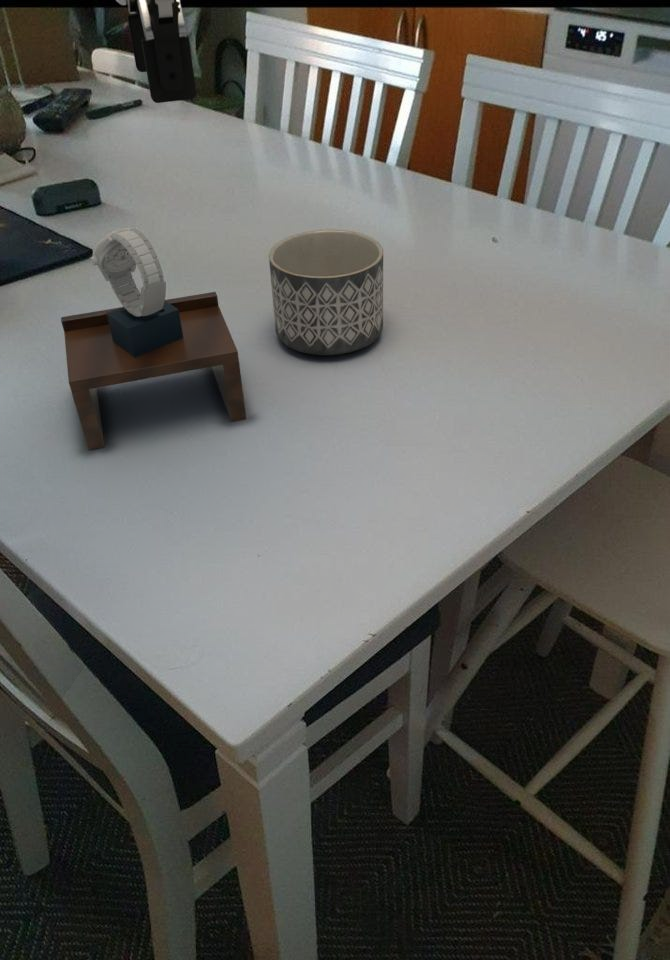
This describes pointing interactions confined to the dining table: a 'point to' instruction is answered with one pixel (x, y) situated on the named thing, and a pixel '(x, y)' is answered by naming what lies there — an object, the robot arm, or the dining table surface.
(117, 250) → the watch
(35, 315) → the dining table surface
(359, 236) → the planter
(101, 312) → the shelf
